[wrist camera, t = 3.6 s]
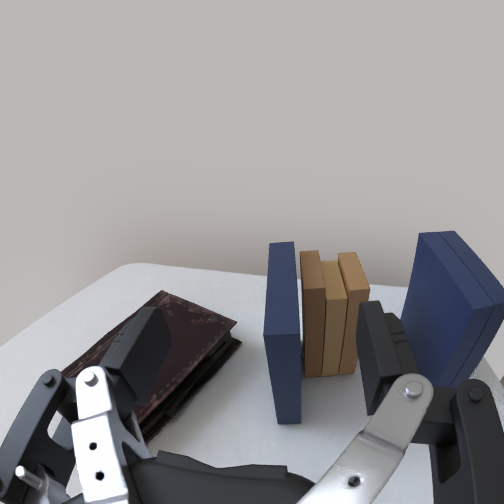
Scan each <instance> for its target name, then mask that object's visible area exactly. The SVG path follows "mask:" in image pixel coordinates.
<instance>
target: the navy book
mask: <svg viewBox="0 0 504 504" xmlns="http://www.w3.org/2000/svg"><path fill="white" fill-rule="evenodd" d="M295 263H296V262H295V250H294V242H280V243H270V244H269V260H268V275H267V290H266V305H265V319H264V333H263V337H264V343H265V349H266V355H267V361H268V367H269V373H270V379H271V385H272V391H273V397H274V403H275V410H276V416H277V422H278V424H296V423H301V342H300V319H299V303H298V288H297V275H296V264H295Z"/></svg>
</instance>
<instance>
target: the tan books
mask: <svg viewBox="0 0 504 504" xmlns="http://www.w3.org/2000/svg"><path fill="white" fill-rule="evenodd" d="M300 267H301V291H302V323H303V352H304V373H305V378H307V377H320V376H321V374H322V376H333V375H338V374H339V375H342V374H351V373H354V371H355V367H356V362H357V358H358V352H357V347H356V328H357V320H358V311H359V304H360V302H367V301H368V299H369V293H370V287H369V284H368V282H367V279H366V277H365V274H364V271H363V269H362V267H361V264H360V261H359V259H358V256H357V254H356V252H348V253H339V254H338V262H337V260H334V261H320V256H319V253H318V250H317V251H302V252H300Z"/></svg>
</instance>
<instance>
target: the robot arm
mask: <svg viewBox="0 0 504 504" xmlns="http://www.w3.org/2000/svg"><path fill="white" fill-rule="evenodd" d="M171 346H172V334H171V332H170V329H169V327H168V324H167V322H166V319H165V317H164V314H163V312H162V310H161V309H160V308H159V307H142V308H141V309H140V311H139V312H138V314H137V315H136V317H135V318H132V319H131V320H130V321H129V322H128V323H126V324H125V325H124V326H123V328H122V329H121V331H120V332H119V335H117V337H116V338H115V340H114V342H113V343H112V345H111V346H110V348H109V349H108V351H107V352H106V354H105V355H104V357H103V359H102V360H101V362H100V363H99V365H98V366H91V367H88V368H86V369H84V370H83V371H82V372H81V373H80V374H79V375H78V377H75V378H64V376H63V375H62V374H61V372H60V371H59V370H56V369H52V370H48V371H46V372H45V373H44V374H43V375H42V376H41V377H40V378H39V380H38V381H37V383H36V385H35V386H34V388H33V389H32V391H31V393H30V394H29V396H28V398H27V399H26V401H25V403H24V404H23V406H22V408H21V410H20V411H19V413H18V415H17V417H16V419H15V420H14V422H13V424H12V426H11V428H10V430H9V431H8V433H7V435H6V437H5V439H4V441H3V443H2V445H1V447H0V501H1V502H3V503H5V504H372V502H373V501H374V500H375V498H376V497H377V496H378V494H379V493H380V492H381V490H382V489H383V487H384V486H385V485H386V483H387V482H388V480H389V479H390V477H391V476H392V474H393V473H394V471H395V470H396V468H397V466H398V465H399V463H400V462H401V460H402V458H403V456H404V454H405V451H406V449H407V447H408V445H409V443H418V444H429V451H430V459H431V469H432V481H433V498H434V504H504V432H503V428H502V425H501V421H500V418H499V414H498V411H497V408H496V405H495V402H494V399H493V396H492V393H491V390H490V388H489V387H488V385H487V384H486V383H484V382H483V381H481V380H478V379H468V380H466V381H464V382H463V383H461V384H460V386H459V387H458V389H454V388H442V387H436V386H433V385H432V384H431V382H430V381H429V380H428V379H427V378H425V377H424V376H422V375H421V374H420V372H419V369H418V366H417V363H416V360H415V357H414V355H413V352H412V349H411V346H410V343H409V342H408V338H407V335H406V333H405V330H404V327H403V325H402V322H401V320H400V319H399V318H398V317H397V316H396V315H394V314H393V313H384V312H383V309H382V306H381V303H380V301H367V302H360V304H359V311H358V320H357V328H356V347H357V352H358V358H359V363H360V369H361V375H362V382H363V388H364V395H365V402H366V409H367V416H369V415H373V417H372V418H371V420H370V421H369V422H368V424H367V425H366V427H365V428H364V429H363V430H362V431H360V432H359V433H358V434H357V435H356V436H355V438H354V439H353V440H352V441H351V443H350V444H349V445H348V447H347V448H346V449H345V450H344V452H343V453H342V454H341V455H340V457H339V458H338V459H337V460H336V461H335V463H334V464H333V465H332V466H331V467H330V468H329V470H328V471H327V472H326V473H325V474H324V475H323V476H322V477H321V479H320V480H319V481H318V482H317V483H316V484H315V483H314V482H312V481H311V480H309V479H307V478H305V477H302V476H300V475H297V474H293V473H289V472H288V471H287V466H282V465H256V464H251V465H244V466H236V467H227V468H215V467H212V466H209V465H207V464H204V463H202V462H200V461H197V460H195V459H193V458H190V457H188V456H184V455H179V454H174V453H170V452H165V451H161V450H159V452H158V454H157V457H152V455H151V453H150V452H149V451H148V449H147V447H146V445H145V442H144V440H143V437H142V434H141V431H140V428H139V425H138V422H137V418H136V415H135V412H134V410H133V409H132V408H133V406H134V404H138V405H143V406H145V404H146V402H147V400H148V397H149V395H150V393H151V391H152V388H153V386H154V384H155V382H156V379H157V377H158V375H159V373H160V371H161V368H162V366H163V364H164V362H165V360H166V358H167V355H168V353H169V351H170V349H171ZM56 410H57V411H58V412H59V413H60V414H61V415H62V416H63V417H62V419H61V421H60V423H59V425H58V427H57V429H56V431H55V433H54V435H53V438H52V439H51V438H50V437H49V435H48V432H47V429H48V426H49V424H50V422H51V420H52V418H53V416H54V414H55V412H56ZM75 463H77V468H78V473H79V478H80V483H81V487H82V491H83V492H82V493H81V494H79V495H77V496H75V497H73V498H70V496H69V495H68V494H66V490H65V489H66V486H67V484H68V481H69V479H70V476H71V473H72V471H73V468H74V466H75Z"/></svg>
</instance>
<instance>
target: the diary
mask: <svg viewBox="0 0 504 504" xmlns="http://www.w3.org/2000/svg"><path fill="white" fill-rule="evenodd" d="M142 307H159V308H160V309H161V310H162V312H163V314H164V317H165V319H166V322H167V324H168V327H169V329H170V332H171V334H172V346H171V349H170V351H169V353H168V355H167V358H166V360H165V362H164V364H163V366H162V368H161V371H160V373H159V375H158V377H157V379H156V382H155V384H154V386H153V388H152V391H151V393H150V395H149V397H148V400H147V402H146V404H145V406H143V405H138V404H134V406H133V408H132V409H133V410H134V412H135V415H136V418H137V422H138V425H139V428H140V431H141V434H142V437H143V440H144V442H145V443H147V442H148V441H149V440H150V439H151V438H152V437H153V436H154V435H155V434H156V433H157V432H158V431H159V430H160V429H161V428H162V427H163V426H164V425H165V424H166V423H167V422H168V421H169V420H170V419H171V418H172V416H173V415H174V414H175V413H176V412H177V411H178V410H179V409H180V408H181V407H182V406H183V404H184V403H185V402H186V401H187V400H188V399H189V398H191V397H192V396H193V395H194V394H195V393H196V392H197V391H198V390H199V389H200V388H201V387H202V386H203V385H204V384H205V383H206V382H207V381H208V380H209V379H210V378H211V377H212V376H213V375H214V374H215V373H216V372H217V371H218V370H219V369H220V368H221V366H222V365H223V364H224V363H225V362H226V360H227V359H228V358H229V357H230V356H231V355H232V353H233V352H234V351H235V350H236V349H237V347H238V346H239V345H240V344H241V343H242V341H240V340H237V339H235V338H233V337H231V334H230V330H231V329H232V328H233V327H234V326H235V324H236V323H237V322H236V321H234V320H231V319H229V318H227V317H224V316H222V315H220V314H217V313H215V312H213V311H211V310H208V309H206V308H204V307H201V306H199V305H197V304H194V303H192V302H189V301H187V300H184V299H182V298H179V297H177V296H174V295H172V294H168V293H167V292H165V291H163V290H161V291H160V292H158V293H157V294H156V295H155V296H154V297H152V298H151V299H150V300H149V301H148V302H146V303H145V304H144V305H143V306H142ZM142 307H141V308H142ZM141 308H139V309H138V310H137V311H136V312H135V313H133V314H132V315H131V316H129V317H128V318H127V319H125V320H124V321H123V322H121V323H120V324H119V325H117V326H116V327H115V328H113V329H112V330H111V331H110V332H108V333H107V334H106V335H105V336H104V337H102V338H101V339H100V340H99V341H98V342H97V343H96V344H94V345H93V346H92V347H91V348H90V349H89V350H88V351H87V352H85V353H84V354H83V355H82V356H81V357H79V358H78V359H77V360H75V361H74V362H73V363H71V364H70V365H69V366H68V367H66V368H65V369H64V370H62V371H61V374H62V375H63V376H64V378H75V377H78V375H79V374H80V373H81V372H82V371H83V370H84V369H86V368H88V367H91V366H98V365H99V363H100V362H101V360H102V359H103V357H104V355H105V354H106V352H107V351H108V349H109V348H110V346H111V345H112V343H113V342H114V340H115V338H116V337H117V335H119V332H120V331H121V329H122V328H123V326H124V325H125V324H126V323H128V322H129V321H130V320H131V319H132V318H135V317H136V315H137V314H138V312H139V311H140V309H141Z"/></svg>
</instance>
